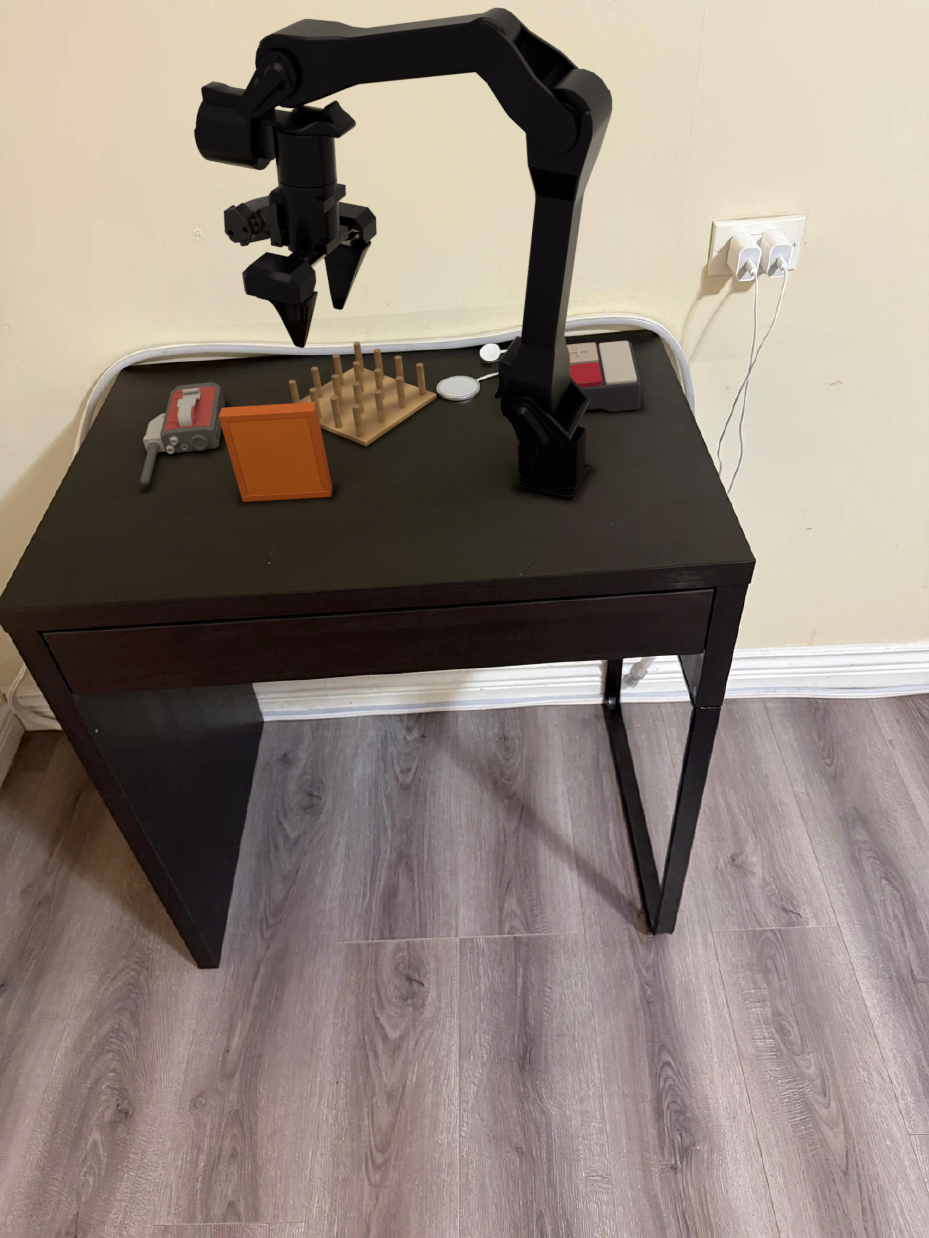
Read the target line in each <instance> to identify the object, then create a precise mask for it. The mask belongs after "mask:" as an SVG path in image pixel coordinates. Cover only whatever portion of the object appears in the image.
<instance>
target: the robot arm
mask: <svg viewBox="0 0 929 1238" xmlns="http://www.w3.org/2000/svg"><path fill="white" fill-rule="evenodd" d="M254 66H255V70H254V73H253V74H252V76H251V78H250V79H249V82H248V84H247V85H246V88H241V87H236V86H230V85H228V84H226V83H223V82H220V81H210V82H208V83H206V84H205V85H203V86H201V88H200V93H201V99H202V101H201V102H200V104H199V106H198V110H197V113H196V119H195V128H194V129H193V137H194V141H195V145H196V148H197V150H198V152H199V154H200V156H201V157H202V158H203V159H204V160H206V161H208V162H213V163H220V164H223V165H230V166H235V167H239V168H244V169H250V170H254V171H255V170H256V171H263V170H265V169H267V167H268V166H269V165H270V163H271V161H274V160H275V166H276V167H275V168H276V176H277V186H276V187H275V188H273V189H271V190H270V192H269V194H268V195H265V196H259V197H256V198H252V199H250V200H247V201H245V202H241V203H239V204H238V205H234V204H232V205H230V206H229V207H227V208H226V209H224V210H223V227H224V229H223V230H224V233H225V235H226V236H227V237H228V239H229V240H230V241H231V242H232V243H234V244H239V246H240V247H247V246H249V245H250V244H251V243H256V242H261V241H265V240H269V241H270V246H271V247H276V248H283V247H287V250H288V251H289V252H290V254H289V255H283V254H278V253H274V252H270V251H266V252H264V253H263V254H262V255H260V256H259V257H257V259H255V260H254V261H252V263H250V264H249V265H248V266H246V268H245V269H244V270H243V271H242V272H241V276H242V283H243V290H244V293H245V294H246V295H247V296H249V297H254V298H255V297H256V298H257V299H259V300H264V301H268V302H269V303H270V304H271V305H272V306H273V308H274V309H275V311H276V312H277V314H278V315H279V317H280V319H281V321H282V323H283V325H284V328H285V329H286V331H287V333H288V335H289V338H290V339H291V342H292V344H293V345H294V347H296V348H299V349H304V348H305V347H306V345H307V341H308V338H309V333H310V329H311V325H312V321H313V316H314V312H315V307H316V303H317V299H318V295H319V292H318V291H317V290H315V288H316V285H317V273H316V270H315V268H314V267H315V266H316V265H317V264H319V263H320V262H321V261H322V260H324V265H325V266H324V267H325V272H326V277H327V283H328V289H329V295H330V299H331V304H332V308H333V309H335V310H339V311H342V310H343V309H345V305H346V303H347V301H348V298H349V295H350V293H351V291H352V289H353V285H354V283H355V280H356V278H357V276H358V273H359V271H360V269H361V267H362V264H363V263H364V260H365V257H366V255H367V254H368V251H369V249H370V248H371V247H372V239H373V238H374V237H376V236H377V235H378V231H377V216H376V215H375V214H374V212H373V211H372V210H371V209H370V208H369V207H368V206H364V205H359V204H353V203H350V202H343V201H341V200H343V198H345V197H346V196H347V185H346V184H343V183H338V171H337V169H338V168H337V153H336V139H340V138H341V137H343V136H344V135H346V134H347V133H349V132H350V131H352V130H353V129H354V128H356V126H357V121H356V120H355V119H354V118H353V117H352V116H351V114H350V113H348V112H347V111H346V110H345V109H344V108H343V107H342V106H341V104H340V102H339V101H338V100H336V99H335V100H333V101H331V102H330V103H328V104H326V105H325V106H324V107H319V106H318V107H317V106H311V105H309V104H311V103H315V102H316V101H320V100H323V99H325V98H327V97H328V98H329V96H332V95H335V94H337V93H340V92H342V91H345V90H348V89H349V88H354V87H355V86H358V85H369V84H376V83H385V82H397V81H405V80H414V79H415V80H416V79H424V78H435V77H444V76H445V77H446V76H454V75H464V74H465V75H466V74H476V75H478V76H479V78H480V79H482V80H483V81H484V82H485V83H486V84H487V86H488V87H489V89H490V91H491V92H492V94H493V96H494V97H495V98H496V100H497V102H498V104H499V105H500V106H501V108H502V110H503V112H504V113H505V114H506V115H507V117H508V118H509V119H510V120H511V121H512V122H513V123H515V124H516V125H517V127H519V128H520V130H522V131H523V132H524V133H525V146H526V163H527V169H528V172H529V176H530V177H529V178H530V180H531V184H532V187H533V191H534V208H533V216H532V217H533V219H532V230H531V237H530V247H529V255H528V256H529V257H528V265H527V266H528V268H527V275H526V285H525V293H524V294H525V296H524V305H523V315H522V324H521V334H520V336H519V335H516V336H515V337H514V339H513V341H512V342H511V343H510V345H509V346H508V348H507V349H506V350H505V352H504V353H503V355H502V356H501V358H500V359H499V361H498V365H497V375H498V387H497V390H496V393H495V394H494V396H493V397H494V399H495V400H497V399H500V400H499V406H500V412H501V415H502V416H503V417H504V418H506V419H507V420H508V422H509V423H510V424H511V425H512V428H513V430H514V433H515V435H516V438H517V440H518V443H517V464H518V465H517V466H518V467H517V468H518V469H517V470H518V471H517V472H518V474H519V476H521V477H520V478H519V479H518V481H517V482H516V488H517V489H519V490H523V491H528V492H532V493H536V494H541V495H546V496H551V497H556V498H561V499H566V500H571V499H573V498H574V497H575V495H576V493H577V491H578V490H579V488H580V486H581V485H582V483H583V482H584V479H585V478H586V476H587V474H588V473H589V471H590V464H589V463H586V445H587V444H586V443H587V441H586V439H587V427H584V426H580V423H581V421H582V419H583V417H584V416H585V415H586V413H587V408H588V406H589V404H590V401H591V399H590V397H589V396H588V395H587V394H586V393H585V392H584V391H583V390H582V389H581V388H580V387H579V386H578V385H577V384H576V383H575V381H574V380H573V379H572V378H571V376H570V354H569V351H568V347H567V345H568V343H567V340H566V336H565V333H566V332H565V331H566V324H567V316H568V310H569V302H570V295H571V288H572V280H573V276H574V275H573V273H574V267H575V261H576V260H575V259H576V253H577V245H578V240H579V239H578V238H579V231H580V224H581V217H582V210H583V203H584V197H585V192H586V188H587V186H588V184H589V180H590V177H591V175H592V173H593V170H594V167H595V165H596V162H597V159H598V157H599V155H600V152H601V148H602V146H603V142H604V139H605V136H606V133H607V129H608V127H609V125H610V120H611V117H612V113H613V97H612V93H611V90H610V89H609V88H608V86H607V84H606V83H605V82H604V80H603V78H602V77H600V76H599V75H597V73H595V72H594V71H591V70H588V69H586V68H579V66H577V65H576V64H575V63H574V62H573V60H571V59H570V58H569V57H568V56H567V55H566V54H565V53H564V52H563V51H562V50H560V49H559V48H557V47H556V46H554V45H553V44H552V43H549V42H548V41H547V40H545V39H544V38H543V37H540V36H539V35H538V34H536V33H534V32H533V31H532V30H530V29H529V28H528V26H526V25H525V24H524V23H523V22H522V21H521V20H520V19H519V18H518V17H517V16H516V15H515V14H514V13H513V12H512V11H510V10H508V9H506V7H493V8H492V7H491V8H490V9H488V10H486V11H484V12H480V13H479V12H478V13H472V14H464V15H455V16H448V17H439V18H433V19H425V20H418V21H410V22H401V23H395V24H387V25H386V24H385V25H379V26H370V27H361V26H352V25H349V24H346V23H343V22H341V21H336V20H325V19H314V18H302V19H300V20H297V21H296V22H293V23H291V24H289V25H287V26H285V27H282V28H280V29H278V30H275V31H274V32H272V33H270V34H268V35H265V36H264V37H263V38H261V39H260V40H259V42H258V46H257V49H256V51H255V59H254ZM277 107H280V108H283V109H292V110H291V111H289V110H283V109H278V108H277Z"/></svg>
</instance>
